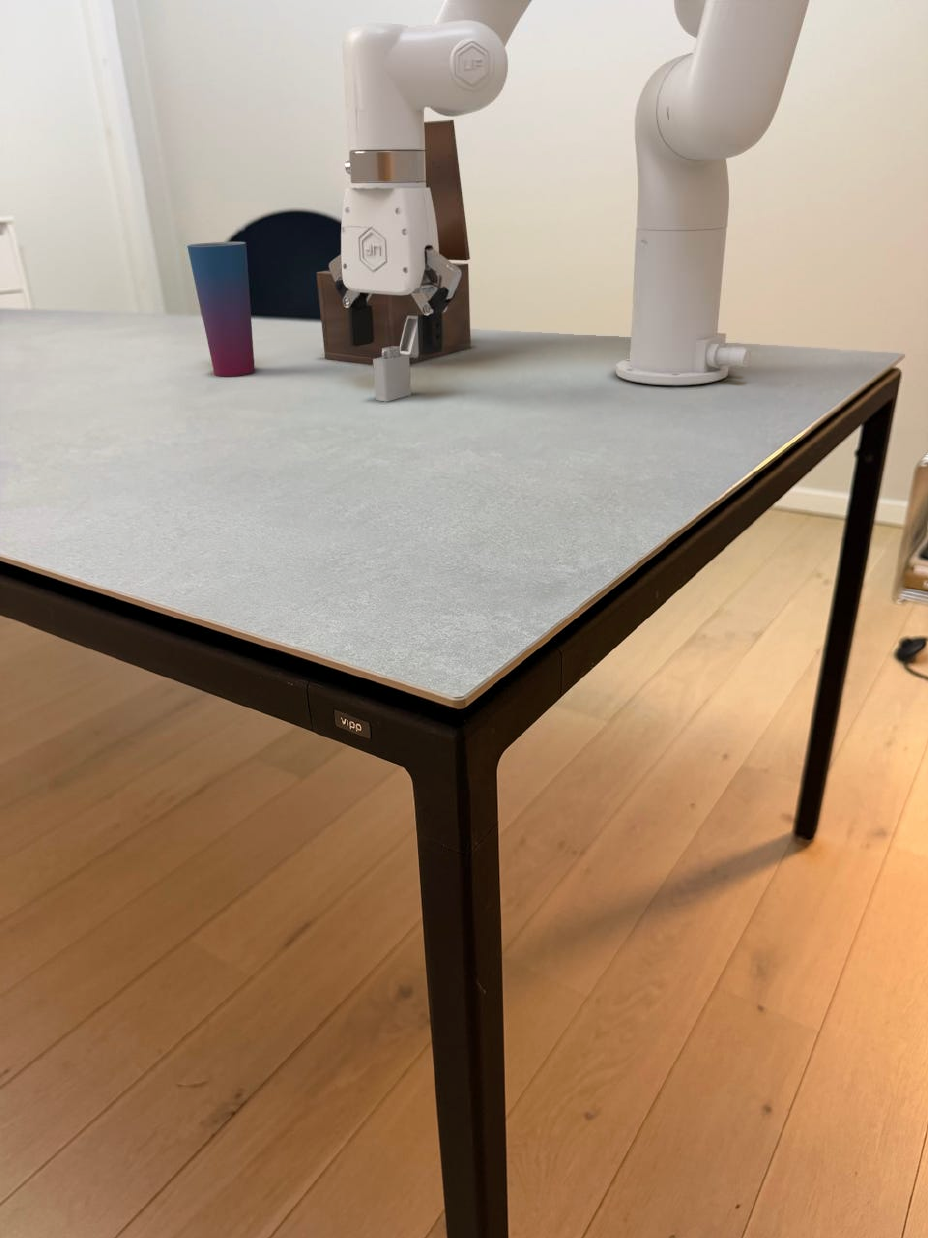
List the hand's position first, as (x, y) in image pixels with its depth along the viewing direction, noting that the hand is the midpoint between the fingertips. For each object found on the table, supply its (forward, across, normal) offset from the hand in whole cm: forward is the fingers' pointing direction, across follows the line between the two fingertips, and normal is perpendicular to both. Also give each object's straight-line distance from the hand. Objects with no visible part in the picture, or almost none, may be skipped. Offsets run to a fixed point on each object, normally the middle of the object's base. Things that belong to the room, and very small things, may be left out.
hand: (395, 348), depth 99 cm
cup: (+6, -27, -1) cm, 27 cm away
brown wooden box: (+5, -17, +19) cm, 26 cm away
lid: (-14, -17, +25) cm, 34 cm away
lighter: (+5, 0, 0) cm, 5 cm away
